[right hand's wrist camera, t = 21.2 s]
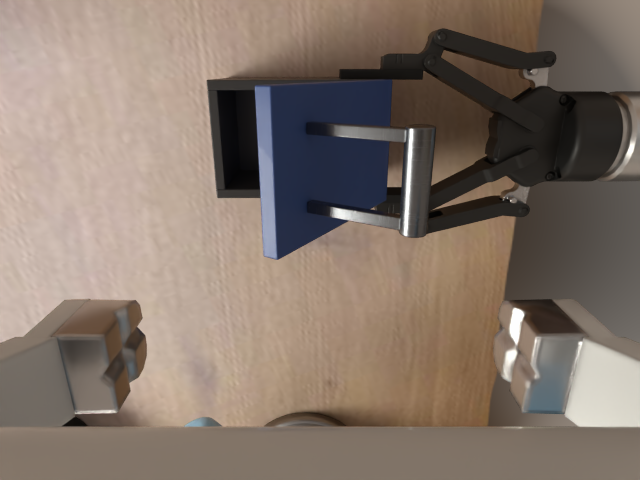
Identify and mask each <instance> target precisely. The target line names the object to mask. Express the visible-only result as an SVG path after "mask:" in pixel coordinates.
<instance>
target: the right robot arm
mask: <svg viewBox="0 0 640 480" xmlns="http://www.w3.org/2000/svg"><path fill="white" fill-rule="evenodd" d="M141 320H142V313H141V308H140V305H139V303H138V302H137V301H136V300H91V299H71V300H64V301H63V302H62V303H61V304H60V305H59V306H57V307H56V308H55V309H54V310H53V311H52V312H51V313H50V314H48V315H47V316H46V317H45V318H44V319H43V320H42V321H41V322H39V323H38V324H37V325H36V326H35V327H34V328H33V329H32V330H30V331H29V332H28V333H27V334H26V335H25V336H24V337H15V338H12V339H10V340H7V341H4V342H2V343H0V480H640V343H638V342H636V341H633V340H630V339H628V338H625V337H616V336H615V335H614V334H613V333H612V332H611V331H610V330H608V329H607V328H606V327H605V326H604V325H603V324H602V323H601V322H600V321H598V320H597V319H596V318H595V317H594V316H593V315H592V314H591V313H589V312H588V311H587V310H586V309H585V308H584V307H583V306H582V305H580V304H579V303H578V302H577V301H576V300H572V299H556V300H552V299H543V300H507V301H502V303H501V305H500V308H499V313H498V320H499V321H500V323H501V324H502V326H503V327H502V328H501V329H500V330H499V332H498V333H497V334H496V335H495V337H494V345H493V353H494V362H495V365H496V368H497V370H498V372H499V374H500V376H501V377H502V378H504V379H505V380H507V381H509V382H510V383H511V385H510V392H511V394H512V396H513V398H514V399H515V401H516V403H517V404H518V406H519V408H520V409H521V411H522V412H523V413H544V414H565V417H567V418H568V419H569V420H571V421H572V422H573V423H575V424H576V425H578V426H579V427H61V426H63V425H64V424H65V423H67V422H68V421H69V420H71V419H72V418H74V417H75V414H96V413H118V411H119V409H120V408H121V406H122V404H123V403H124V401H125V399H126V398H127V396H128V394H129V393H130V385H129V383H130V382H131V381H133V380H135V379H136V378H138V377H139V376H140V374H141V372H142V370H143V368H144V364H145V360H146V356H147V344H146V337H145V335H144V334H143V333H142V332H141V330H140V329H139V328H138V327H137V326H138V324H139V323H140V321H141Z"/></svg>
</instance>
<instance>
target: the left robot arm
mask: <svg viewBox="0 0 640 480" xmlns="http://www.w3.org/2000/svg"><path fill="white" fill-rule="evenodd" d="M443 50H446V51H449V52H453V53H456V54H460V55H463V56H467V57H470V58H473V59H477V60H480V61H484V62H487V63H490V64H494V65H497V66H501V67H504V68H509V69H519V76H520V77H521V78H522V79H527V80H528V81H529V82H530V84H531V87H529V88H528V89H526V90H525V91H523V92H522V93H521V94H519V95H518V96H516V97H515V98H513V99H512V100H511V99H509V98H507V97H506V96H503V95H501V94H499V93H497V92H496V91H494V90H493V89H491V88H489V87H488V86H486V85H484V84H483V83H481V82H480V81H478V80H476V79H475V78H473V77H471V76H470V75H468V74H467V73H465V72H463V71H462V70H460V69H458V68H457V67H455V66H454V65H452V64H450V63H449V62H447V61H446V60H444V59H442V58H441V55H442V53H443ZM555 61H556V55H555V53H554V52H552V51H545V52H532V53H525V52H522V51H518V50H515V49H512V48H508V47H505V46H502V45H498V44H495V43H492V42H488V41H485V40H481V39H478V38H475V37H471V36H468V35H465V34H461V33H458V32H455V31H451V30H448V29H439V30H436V31H433V32H431V33H430V34H429V36H428V41H427V44H426V46H425V48H424V50H423V51H422V52H421V53H419V54H387V55H384V56H382V57H381V68H380V69H340V74H339V79H423V70H424V71H425V72H427V73H429V74H430V75H432V76H434V77H435V78H437V79H439V80H440V81H442V82H443V83H445V84H447V85H448V86H450V87H452V88H453V89H455V90H457V91H458V92H460V93H462V94H463V95H465V96H467V97H468V98H470V99H472V100H473V101H475V102H476V103H478V104H480V105H481V106H482V107H484V108H485V109H487V110H488V111H490V112H492V113H493V114H494V115H493V116H492V118H490V119H489V134H490V136H489V139H488V141H487V144H486V150H485V154H487V156H486V157H484V158H482V159H480V160H478V161H476V162H475V163H474V164H473V165H472V166H470V167H468V168H466V169H464V170H462V171H460V172H458V173H456V174H454V175H452V176H450V177H448V178H446V179H444V180H442V181H440V182H438V183H436V184H434V185H432V186H431V192H430V204H429V216H428V227H427V234H428V233H432V232H436V231H441V230H445V229H449V228H453V227H457V226H461V225H465V224H469V223H474V222H478V221H482V220H486V219H490V218H494V217H498V216H502V215H504V216H515V217H524V216H526V215H527V214H528V213H529V211H530V208H529V206H528V205H526V200H527V196H528V193H529V189H530V187H531V186H534V185H536V184H538V183H540V182H544V181H593V180H598V181H640V92H610V93H606V92H557V91H555V90H553V89H551V88H550V87H548V86H547V85H548V74H549V67H551V66H552V65H554V63H555ZM504 176H508V177H509V178H510V179H511V180H513V181H514V182H515V185H514V186H513V187H512V188H511V189H508V190H504V191H502V192H501V195H500V196H489V197H484V198H480V199H476V200H472V201H468V202H464V203H460V204H456V205H452V206H448V207H444V208H439V209H435V208H437V207H439V206H441V205H443V204H445V203H447V202H449V201H451V200H453V199H455V198H457V197H459V196H461V195H463V194H465V193H467V192H469V191H471V190H473V189H475V188H477V187H479V186H481V185H483V184H485V183H487V182H493V181H496V180H498V179H500V178H502V177H504ZM401 188H402V187H387V196H386V201H384V202H382V203H380V204H378V205H377V206H375V210H377V211H383V212H389V213H394V214H400V205H401ZM433 209H435V210H433ZM184 427H223V426H221V425H220V424H219V423H218V422H216V421H215V420H214V419H212V418H209V417H202V418H198V419H196V420H193V421H191V422H190V423H188V424H187V425H185V426H184ZM264 427H347V426H345V425H344V424H343V423H341V422H339V421H337V420H335V419H333V418H331V417H328V416H325V415H321V414H315V413H295V414H290V415H285V416H282V417H279V418H277V419H275V420H273V421H271V422H269V423H268V424H266V425H265V426H264Z"/></svg>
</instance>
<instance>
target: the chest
mask: <svg viewBox="0 0 640 480" xmlns="http://www.w3.org/2000/svg"><path fill="white" fill-rule="evenodd" d="M357 80H379V79H339V77H323V78H223V79H213V80H207V89H208V101H209V112H210V124H211V135H212V146H213V158H214V169H215V180H216V189H217V190H216V191H217V198H261V196H260V177H259V158H258V139H257V120H256V101H255V86H256V85H270V84H292V83H313V82H335V81H357Z"/></svg>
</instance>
